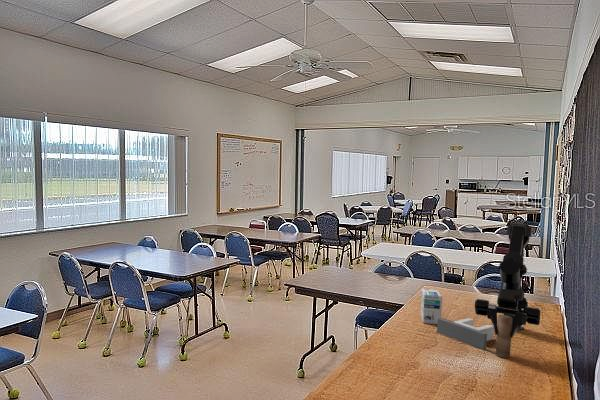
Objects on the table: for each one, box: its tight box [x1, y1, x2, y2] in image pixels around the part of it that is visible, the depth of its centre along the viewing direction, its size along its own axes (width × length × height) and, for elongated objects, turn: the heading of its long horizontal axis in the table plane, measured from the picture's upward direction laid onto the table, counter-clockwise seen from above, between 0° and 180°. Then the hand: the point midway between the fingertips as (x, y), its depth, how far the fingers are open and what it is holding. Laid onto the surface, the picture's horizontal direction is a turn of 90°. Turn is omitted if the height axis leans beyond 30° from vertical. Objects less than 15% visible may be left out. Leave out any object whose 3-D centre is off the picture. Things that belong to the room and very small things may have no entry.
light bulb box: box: [420, 288, 443, 325], centre depth 176 cm, size 11×7×11 cm, turn 170°
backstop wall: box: [436, 317, 488, 350], centre depth 154 cm, size 2×18×5 cm, turn 35°
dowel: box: [495, 314, 513, 359], centre depth 142 cm, size 4×4×12 cm
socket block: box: [453, 317, 495, 342], centre depth 158 cm, size 9×10×4 cm
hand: (503, 335), depth 141 cm, fingers closed on dowel, 4 cm apart
